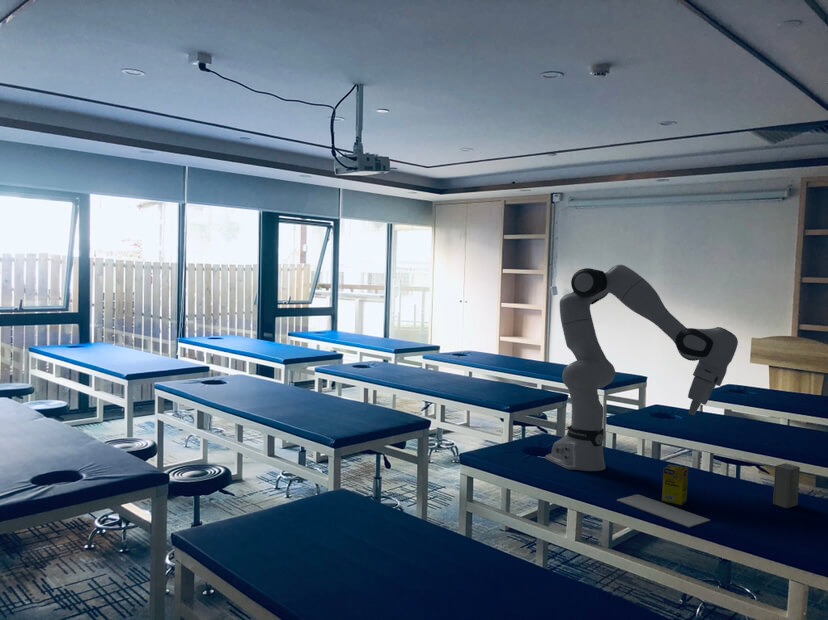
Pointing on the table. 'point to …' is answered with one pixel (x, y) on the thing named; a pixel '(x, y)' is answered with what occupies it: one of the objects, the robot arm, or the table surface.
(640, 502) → the mat
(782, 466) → the skincare box
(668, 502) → the supplement box
